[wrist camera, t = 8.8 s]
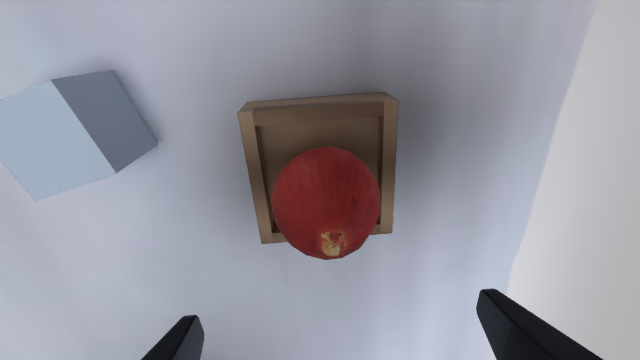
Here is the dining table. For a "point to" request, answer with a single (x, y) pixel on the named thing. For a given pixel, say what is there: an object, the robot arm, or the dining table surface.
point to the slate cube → (70, 133)
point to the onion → (326, 202)
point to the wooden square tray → (319, 144)
